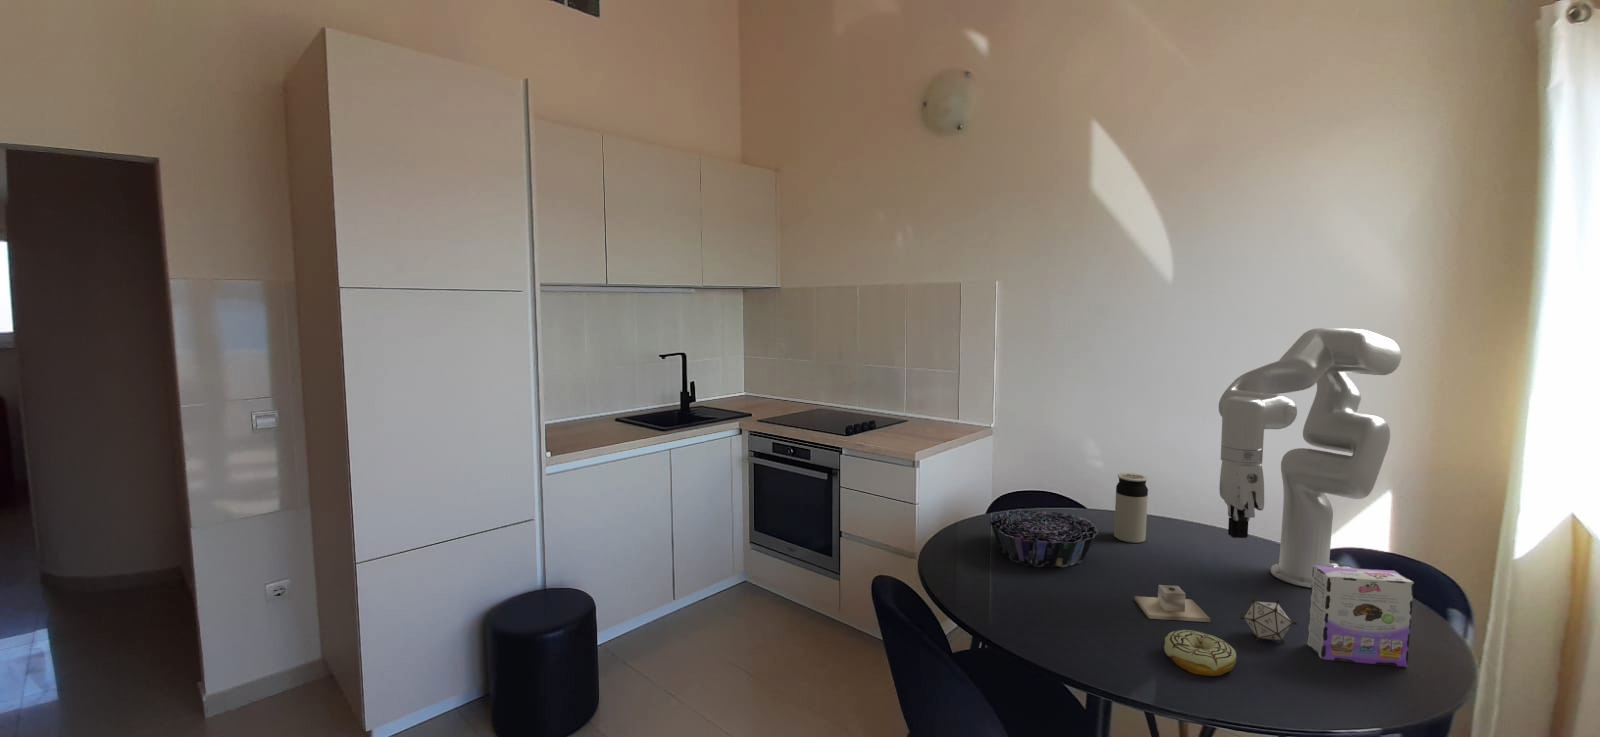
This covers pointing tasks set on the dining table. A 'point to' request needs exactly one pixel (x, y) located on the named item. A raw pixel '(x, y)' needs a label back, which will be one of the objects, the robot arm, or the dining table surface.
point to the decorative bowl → (1043, 537)
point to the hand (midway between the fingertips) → (1237, 536)
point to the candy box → (1360, 615)
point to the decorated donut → (1200, 652)
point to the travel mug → (1131, 508)
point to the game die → (1268, 620)
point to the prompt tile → (1171, 615)
